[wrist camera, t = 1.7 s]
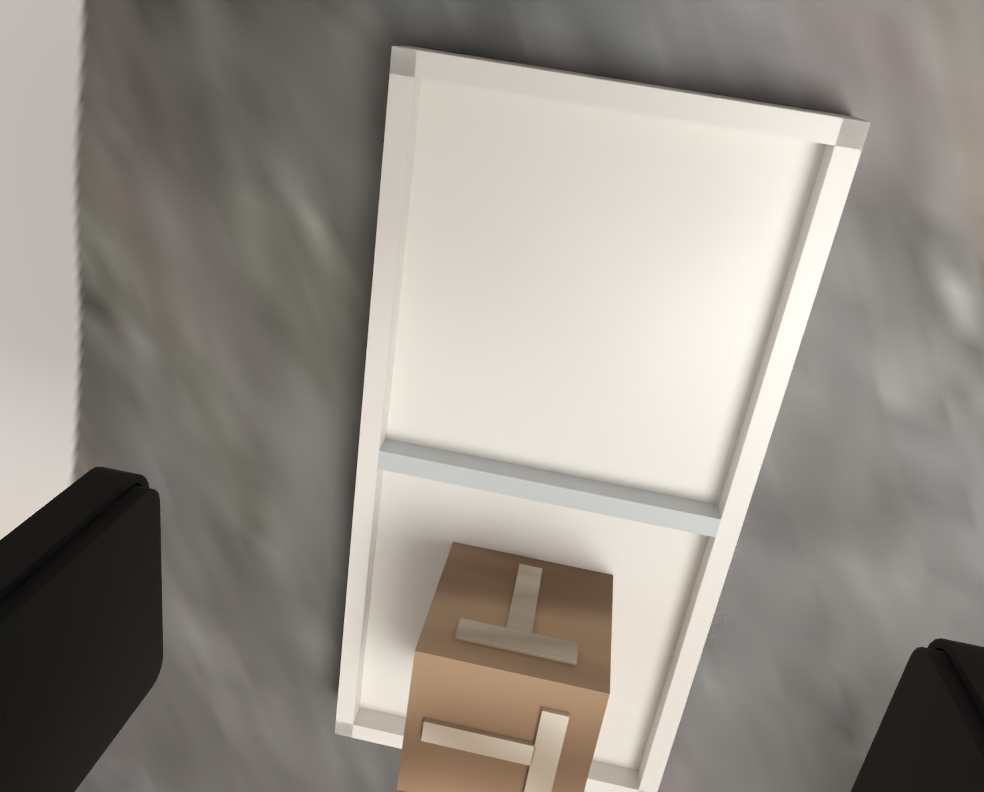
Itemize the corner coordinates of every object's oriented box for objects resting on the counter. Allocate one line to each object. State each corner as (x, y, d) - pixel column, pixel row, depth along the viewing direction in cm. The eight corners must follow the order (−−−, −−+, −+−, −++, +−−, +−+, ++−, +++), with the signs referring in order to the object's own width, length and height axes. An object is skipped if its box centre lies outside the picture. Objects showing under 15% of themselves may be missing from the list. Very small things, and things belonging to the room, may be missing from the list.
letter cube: (453, 538, 25) (414, 650, 21) (614, 571, 25) (610, 693, 20) (434, 665, 27) (395, 793, 23) (582, 698, 27) (573, 834, 22)
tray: (408, 45, 21) (391, 45, 19) (852, 116, 20) (870, 122, 18) (349, 699, 30) (335, 733, 28) (651, 768, 29) (652, 806, 27)
